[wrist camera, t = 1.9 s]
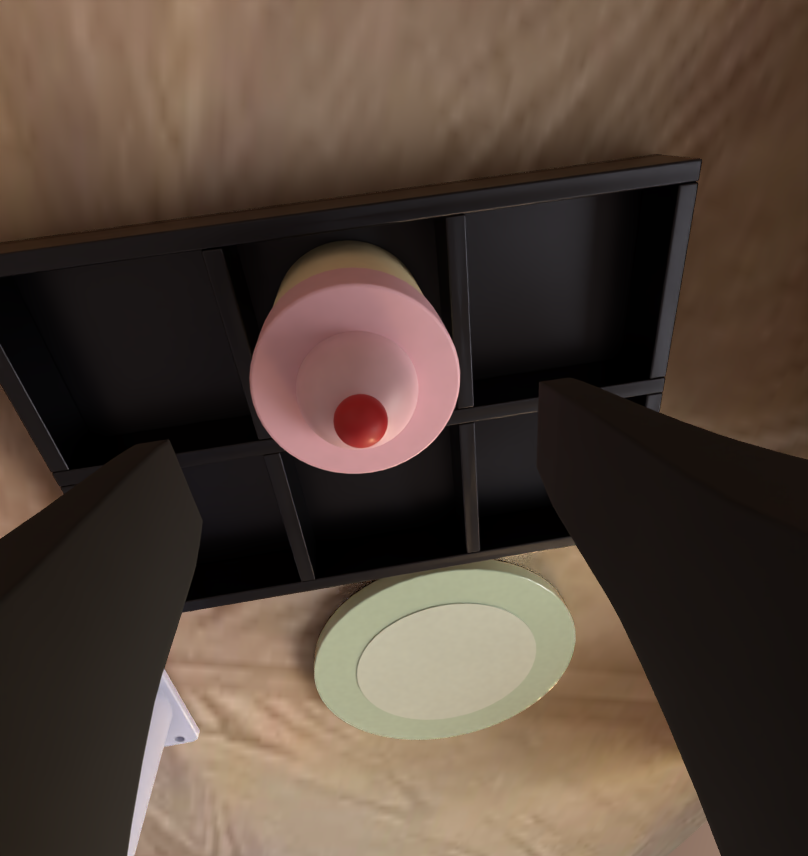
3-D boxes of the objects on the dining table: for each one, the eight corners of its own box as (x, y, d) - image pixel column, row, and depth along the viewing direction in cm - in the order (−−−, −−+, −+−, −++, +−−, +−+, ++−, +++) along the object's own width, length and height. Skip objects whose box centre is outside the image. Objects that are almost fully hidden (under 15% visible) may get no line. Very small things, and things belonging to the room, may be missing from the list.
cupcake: (291, 395, 19) (269, 545, 12) (254, 248, 16) (199, 336, 9) (431, 374, 19) (486, 509, 12) (418, 226, 16) (478, 296, 10)
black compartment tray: (612, 499, 24) (639, 535, 22) (153, 576, 23) (135, 621, 21) (657, 154, 16) (703, 158, 14) (-17, 244, 15) (-71, 263, 13)
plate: (339, 744, 31) (339, 759, 30) (287, 584, 24) (285, 599, 23) (563, 703, 32) (568, 716, 31) (578, 535, 25) (586, 548, 24)
